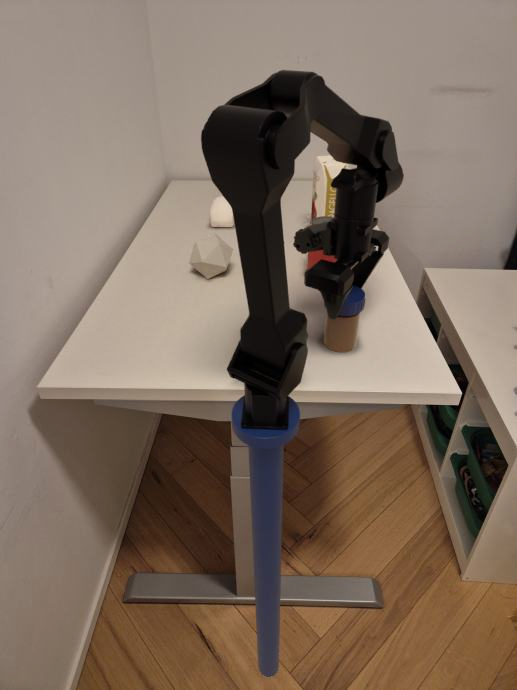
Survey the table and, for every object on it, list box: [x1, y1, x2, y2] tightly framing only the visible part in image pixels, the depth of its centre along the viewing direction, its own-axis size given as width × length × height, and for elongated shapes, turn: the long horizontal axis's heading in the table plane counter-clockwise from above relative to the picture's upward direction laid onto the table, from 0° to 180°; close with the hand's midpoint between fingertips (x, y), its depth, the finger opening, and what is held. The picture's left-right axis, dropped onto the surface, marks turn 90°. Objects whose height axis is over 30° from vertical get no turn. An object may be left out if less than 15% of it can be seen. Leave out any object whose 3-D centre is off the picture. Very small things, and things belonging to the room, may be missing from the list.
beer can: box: [306, 216, 337, 271], centre depth 98 cm, size 7×7×12 cm
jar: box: [323, 310, 362, 353], centre depth 78 cm, size 6×6×9 cm
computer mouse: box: [209, 195, 235, 228], centre depth 126 cm, size 6×13×6 cm, turn 174°
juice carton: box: [310, 154, 350, 225], centre depth 111 cm, size 8×9×19 cm
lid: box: [323, 285, 366, 316], centre depth 76 cm, size 6×6×2 cm
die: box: [188, 232, 234, 280], centre depth 100 cm, size 8×9×10 cm
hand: (344, 305), depth 77 cm, fingers open, 9 cm apart
